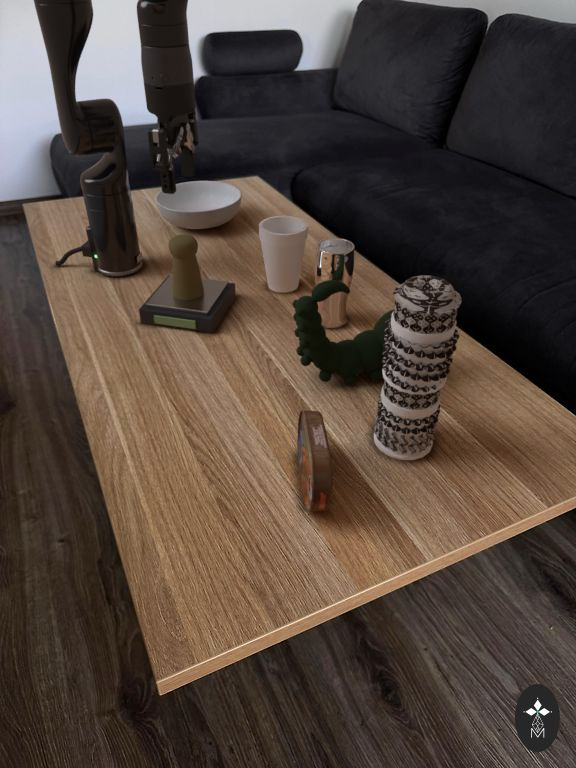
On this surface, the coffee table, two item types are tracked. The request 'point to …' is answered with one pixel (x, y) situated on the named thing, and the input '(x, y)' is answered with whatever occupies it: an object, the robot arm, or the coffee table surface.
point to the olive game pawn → (185, 268)
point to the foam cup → (283, 251)
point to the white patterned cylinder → (415, 365)
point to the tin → (314, 461)
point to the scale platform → (195, 306)
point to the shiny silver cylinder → (334, 277)
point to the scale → (189, 314)
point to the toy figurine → (345, 354)
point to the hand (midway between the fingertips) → (179, 184)
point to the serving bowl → (199, 204)
